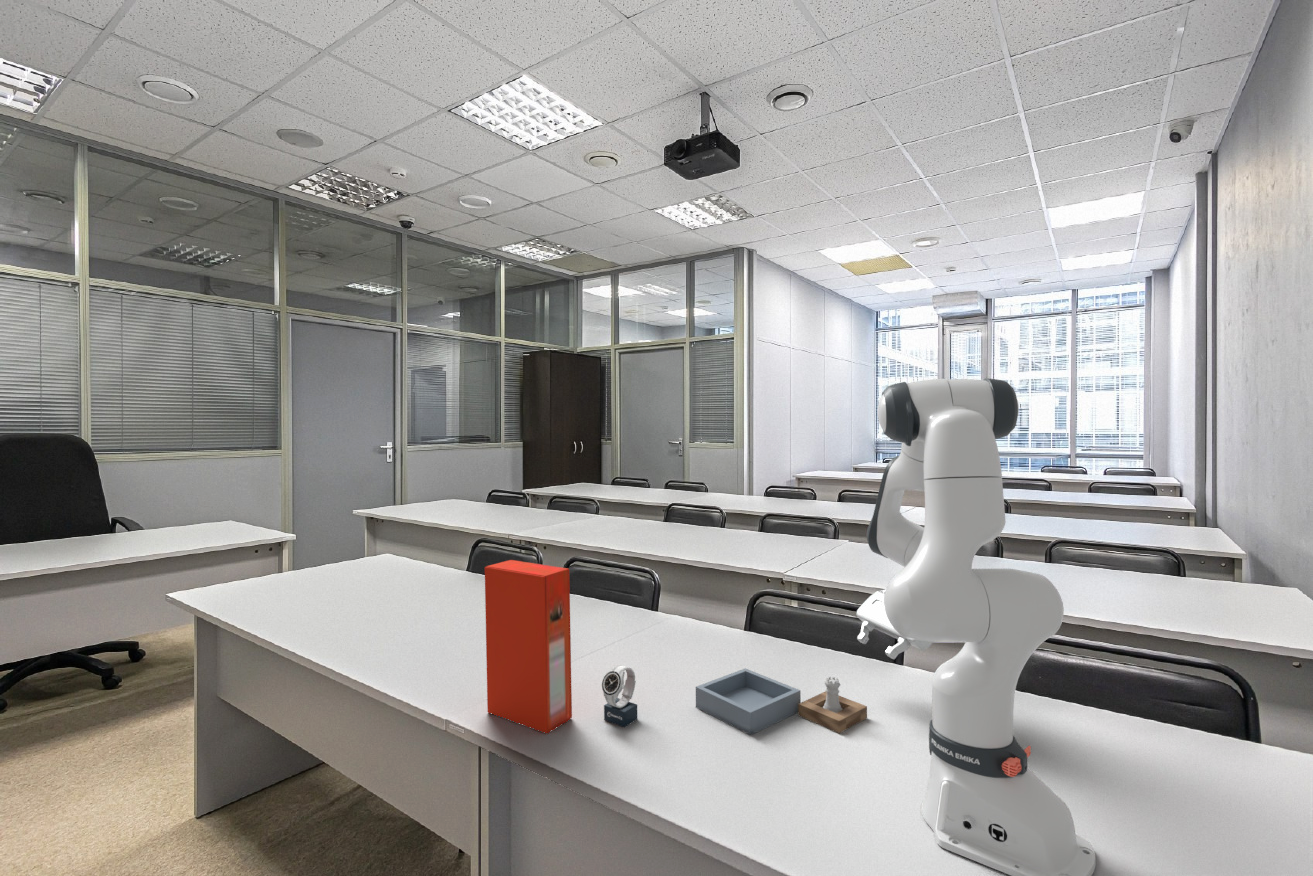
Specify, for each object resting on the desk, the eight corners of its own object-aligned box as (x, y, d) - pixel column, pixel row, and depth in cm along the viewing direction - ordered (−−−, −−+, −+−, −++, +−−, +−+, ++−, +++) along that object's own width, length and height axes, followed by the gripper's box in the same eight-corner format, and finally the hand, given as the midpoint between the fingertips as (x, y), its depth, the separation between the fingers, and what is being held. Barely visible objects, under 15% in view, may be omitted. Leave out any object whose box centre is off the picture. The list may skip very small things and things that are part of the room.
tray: (800, 711, 130) (800, 690, 130) (750, 735, 120) (750, 712, 120) (745, 687, 143) (745, 668, 143) (695, 707, 133) (695, 686, 133)
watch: (597, 723, 126) (597, 671, 126) (622, 709, 132) (622, 659, 132) (618, 731, 122) (618, 677, 122) (642, 716, 129) (642, 664, 129)
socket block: (867, 718, 127) (867, 706, 127) (839, 733, 121) (839, 721, 121) (826, 701, 135) (826, 690, 135) (798, 715, 128) (798, 703, 128)
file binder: (545, 735, 121) (543, 576, 121) (486, 713, 130) (484, 566, 130) (571, 718, 128) (570, 568, 128) (514, 699, 137) (512, 559, 137)
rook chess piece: (826, 710, 131) (826, 673, 131) (847, 716, 128) (846, 678, 128) (818, 717, 127) (817, 680, 127) (838, 724, 124) (838, 685, 124)
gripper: (872, 579, 143) (836, 625, 140) (937, 602, 123) (897, 656, 120) (887, 596, 144) (853, 642, 141) (954, 621, 125) (916, 675, 122)
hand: (874, 648), depth 131 cm, fingers open, 8 cm apart
